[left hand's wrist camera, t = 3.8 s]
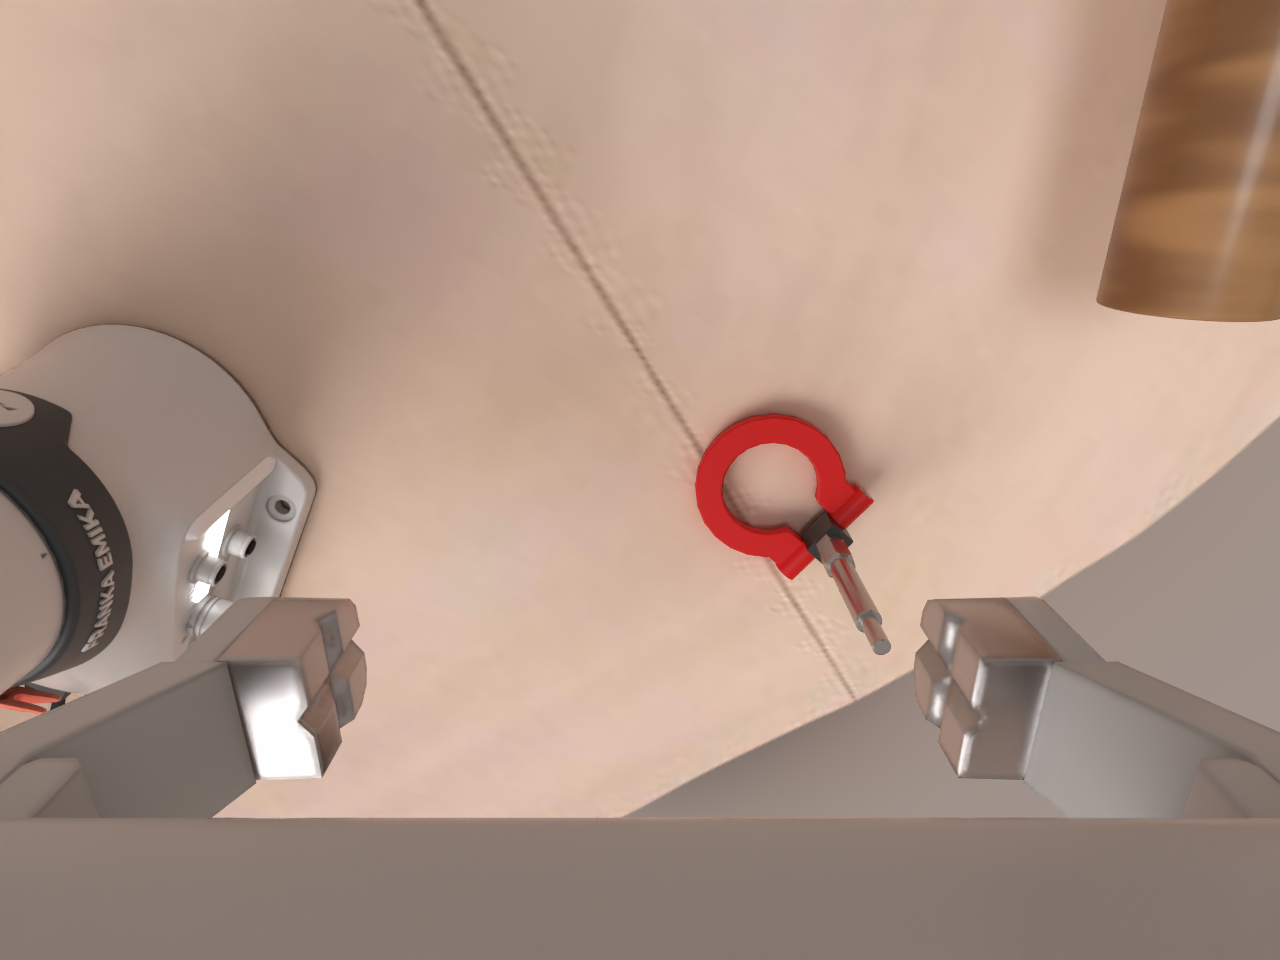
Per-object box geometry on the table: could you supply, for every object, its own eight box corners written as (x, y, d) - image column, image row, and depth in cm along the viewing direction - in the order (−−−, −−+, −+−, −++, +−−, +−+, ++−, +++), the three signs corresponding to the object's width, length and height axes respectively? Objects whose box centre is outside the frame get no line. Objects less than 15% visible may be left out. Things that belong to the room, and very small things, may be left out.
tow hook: (665, 489, 42) (780, 583, 44) (665, 596, 30) (824, 720, 32) (765, 381, 40) (882, 485, 42) (809, 450, 28) (971, 592, 30)
